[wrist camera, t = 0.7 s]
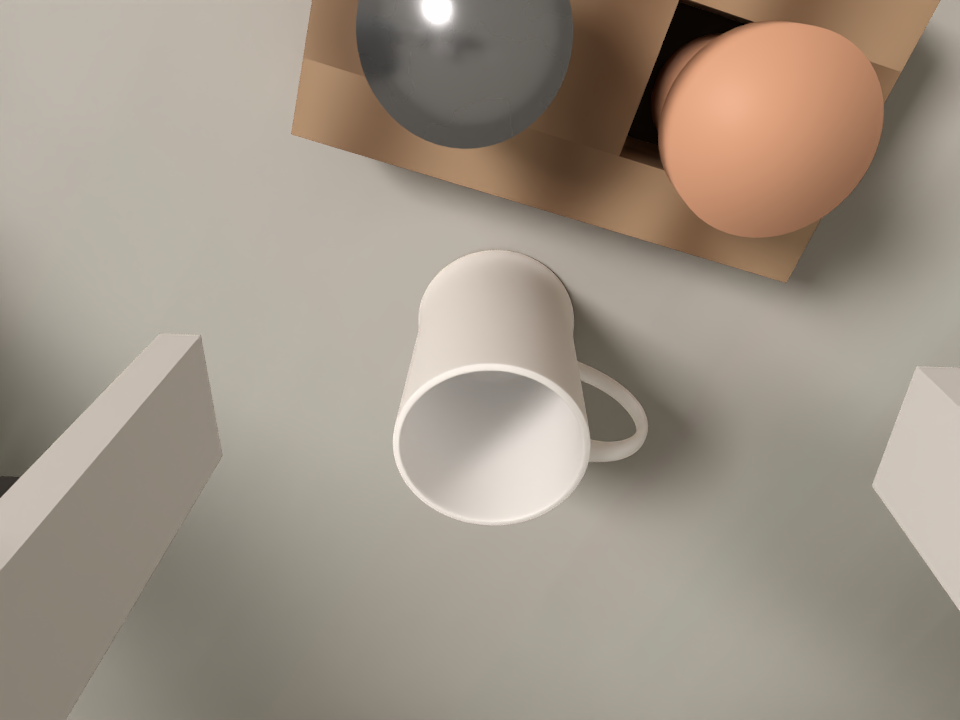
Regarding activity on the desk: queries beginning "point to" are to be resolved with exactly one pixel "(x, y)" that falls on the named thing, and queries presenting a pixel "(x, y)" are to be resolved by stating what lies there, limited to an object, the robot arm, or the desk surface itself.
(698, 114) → the peach ball
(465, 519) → the mug
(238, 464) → the desk surface
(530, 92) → the ball grey
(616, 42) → the block
